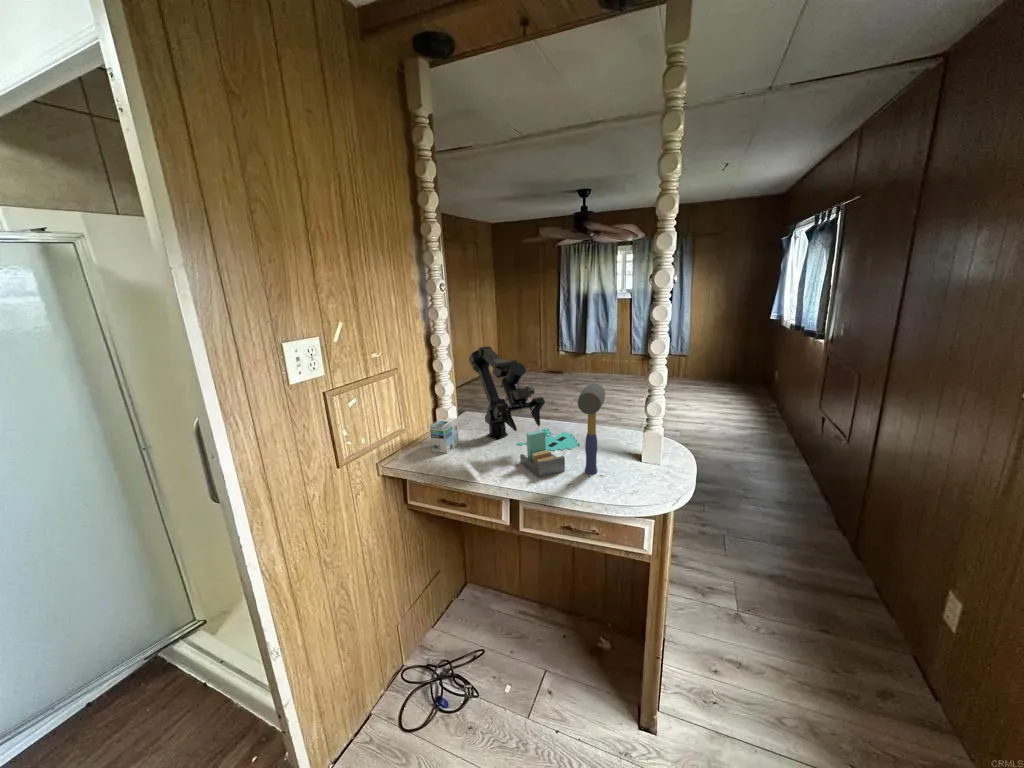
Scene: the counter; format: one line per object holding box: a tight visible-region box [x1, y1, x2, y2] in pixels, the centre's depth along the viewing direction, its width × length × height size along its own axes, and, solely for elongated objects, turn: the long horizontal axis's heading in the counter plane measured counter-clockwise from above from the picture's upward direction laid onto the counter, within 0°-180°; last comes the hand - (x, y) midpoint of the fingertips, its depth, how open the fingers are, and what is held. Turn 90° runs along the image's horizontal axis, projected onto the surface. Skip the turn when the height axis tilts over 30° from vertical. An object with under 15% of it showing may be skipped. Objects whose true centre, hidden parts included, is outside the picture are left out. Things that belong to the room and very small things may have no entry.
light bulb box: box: [429, 416, 460, 454], centre depth 153 cm, size 11×7×11 cm, turn 161°
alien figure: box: [515, 427, 580, 452], centre depth 153 cm, size 20×2×20 cm
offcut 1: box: [532, 450, 552, 465], centre depth 131 cm, size 2×6×5 cm, turn 116°
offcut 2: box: [537, 455, 555, 462], centre depth 129 cm, size 2×6×4 cm, turn 116°
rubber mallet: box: [577, 382, 606, 476], centre depth 124 cm, size 12×8×30 cm, turn 160°
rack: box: [518, 453, 566, 479], centre depth 132 cm, size 14×10×6 cm
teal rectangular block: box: [526, 429, 546, 461], centre depth 133 cm, size 2×6×11 cm, turn 116°
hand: (527, 428), depth 137 cm, fingers open, 9 cm apart
